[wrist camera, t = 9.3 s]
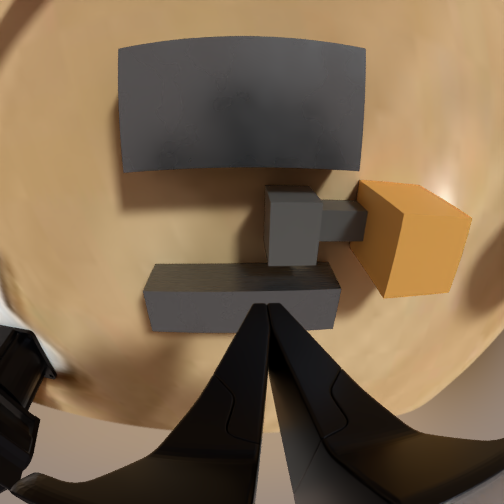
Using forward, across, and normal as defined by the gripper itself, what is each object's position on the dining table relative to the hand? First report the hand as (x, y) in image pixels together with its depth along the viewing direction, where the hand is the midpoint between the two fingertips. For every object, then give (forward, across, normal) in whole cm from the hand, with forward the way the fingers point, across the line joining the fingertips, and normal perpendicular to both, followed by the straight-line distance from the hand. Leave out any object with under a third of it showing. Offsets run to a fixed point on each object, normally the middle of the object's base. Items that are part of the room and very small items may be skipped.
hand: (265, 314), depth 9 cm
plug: (+9, -6, 0) cm, 11 cm away
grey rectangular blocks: (+9, +1, -1) cm, 9 cm away
